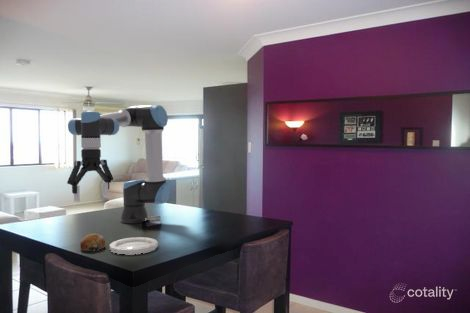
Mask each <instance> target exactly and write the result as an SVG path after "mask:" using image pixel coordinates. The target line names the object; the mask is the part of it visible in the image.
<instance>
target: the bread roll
mask: <svg viewBox="0 0 470 313" xmlns="http://www.w3.org/2000/svg"><path fill="white" fill-rule="evenodd" d="M79 245H80V246H79V247H80V251H82V250H83V251H82V252H85V251H91V252H94V251H93V250H97V251H99V250H98V249H101V250H103V249H104V248H105V247H106V240H105V238H104V236H103V235H101V234H98V233H90V234H86V236H84V237H83V238H82V239H81V241H80V244H79ZM102 248H103V249H102Z"/></svg>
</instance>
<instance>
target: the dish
mask: <svg viewBox="0 0 470 313" xmlns="http://www.w3.org/2000/svg"><path fill="white" fill-rule="evenodd" d="M158 245H159V242H158V240H156V239H154V238H151V237H147V236H145V237H143V236H142V237H141V236H136V237H125V238H121V239H118V240H115V241H112V242H111V243H110V244H109V251H110V250H111V251H110V253H111V252H113V253H112V254H115V253H117V254H116V255H119V254H125V255H124V256H135V254H136V255H141V253H143V254H146V253H150V252H153V251H155V250H156V249H157V248H158V247H159V246H158Z"/></svg>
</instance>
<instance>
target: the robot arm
mask: <svg viewBox="0 0 470 313" xmlns="http://www.w3.org/2000/svg"><path fill="white" fill-rule="evenodd" d="M80 114H81V115H80V118H79V117H76V118H71V119H70V120H69V121H68V123H67V128H68V129H67V130H68V132H69V133H70V134H71V135H74V136H81V138H80V142H81V151H80V152H81V155H80V156H81V157H80V158H81V160H75V161H74V165H73V168H72V171H71V173H70V175H69V177H68V179H67V182H66V184H67V185H71V191H72V192H71V193H72V194H73V202H76V203H79V202H80V201H81V200H80V196H81V194H80V188H81V187H80V185H79V183H80V182H81V180H82V179H83V178H84V176H85V175H86V174H87V173H89V172H93V171H94V172H96V173H97V174H98V176H100V178H101V179H102V180H103V181H104V182H102V198H105V199H106V198H109V190H110V183H111V182H112V181H114V176H113V175H112V173H111V170H110V167H109V166H108V160H107V159H101V157H102V155H101V154H102V152H101V149H100V148H101V147H102V143H101V142H102V141H101V136H114V135H117V134H118V132H119V130H120V127H122V128H125V127H135V128H137V127H138V128H141V131H142V132H143V133H144V136H145V137H144V139H145V140H144V142H145V159H146V160H145V161H146V178H145V179H144V178H143V179H142V178H141V179H133V180H129V181H124V182H123V185H122V186H123V188H122V190H123V191H122V192H123V193H122V194H123V208H122V212H121V216H120V223H123V224H142V223H144V222H143V220H144V219H145V218H148V219H149V215H148V212H147V208H146V204H154V205H163V204H166V202H168V200H169V198H170V195H171V192H172V191H171V185H170V184H169V182H167V178H166V177H165V176H164V171H163V168H164V167H163V151H162V150H163V149H162V147H163V145H162V132H163V131H164V128H165V127H166V126H167V124H168V120H169V119H168V114H167V111H166V109H165V108H164V107H163V106H162V105H159V104H148V105H147V104H146V105H145V104H144V105H143V104H142V105H132V106H128V107H125V108H121V109H118V110H117V111H115V112H108V113H102V114H101V112H99V111H95V110H93V111H92V110H85V111H82V112H81V113H80ZM100 165H101V166H100Z"/></svg>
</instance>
